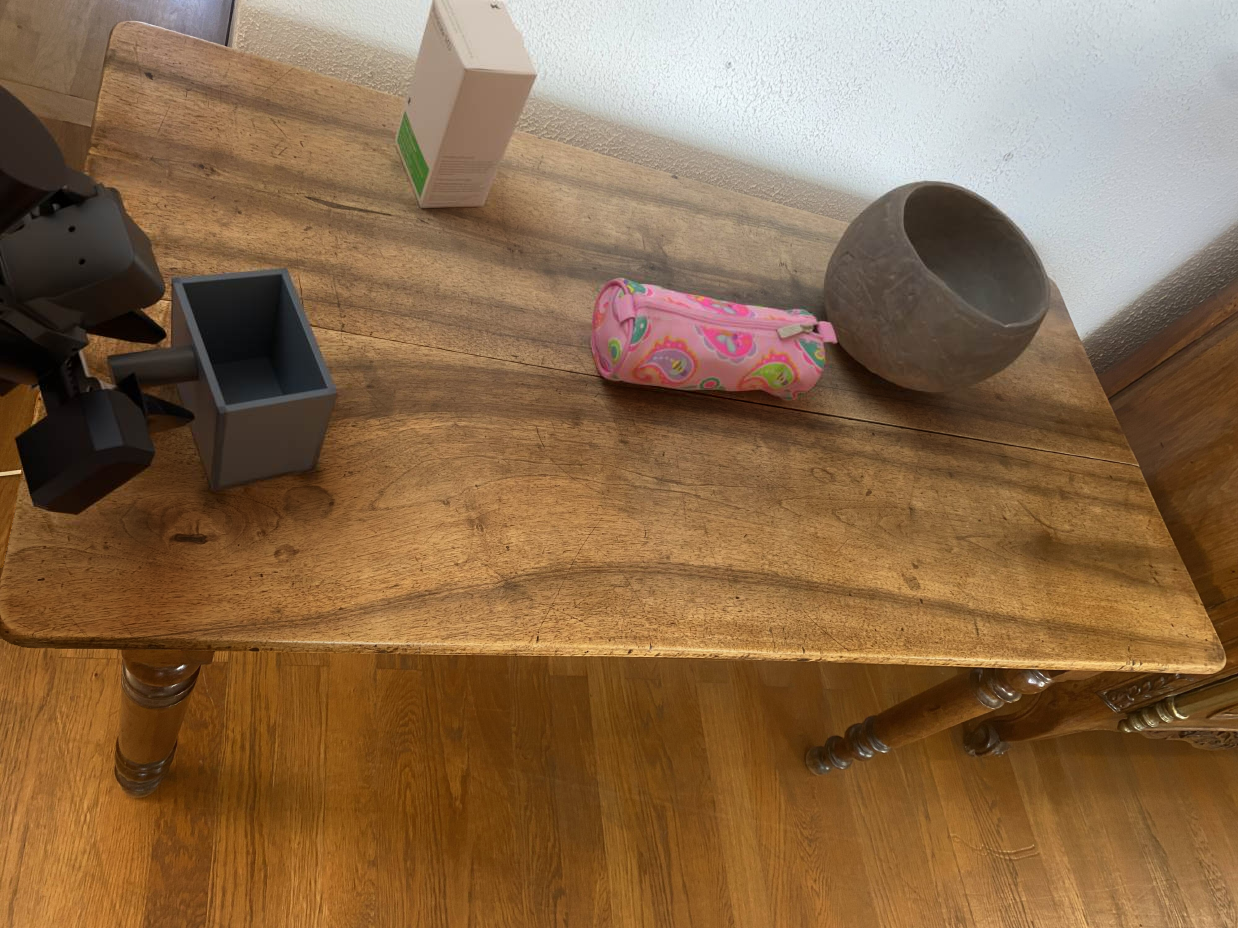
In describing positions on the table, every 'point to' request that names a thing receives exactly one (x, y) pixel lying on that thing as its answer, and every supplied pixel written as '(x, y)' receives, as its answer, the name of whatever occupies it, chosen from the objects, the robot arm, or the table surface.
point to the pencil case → (705, 342)
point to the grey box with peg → (242, 374)
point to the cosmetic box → (463, 102)
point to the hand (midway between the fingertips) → (175, 378)
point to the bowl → (935, 288)
